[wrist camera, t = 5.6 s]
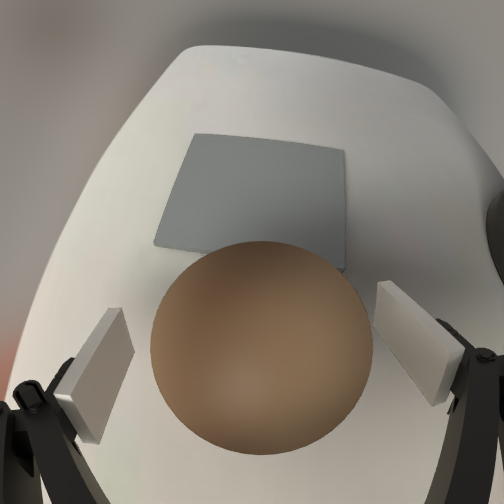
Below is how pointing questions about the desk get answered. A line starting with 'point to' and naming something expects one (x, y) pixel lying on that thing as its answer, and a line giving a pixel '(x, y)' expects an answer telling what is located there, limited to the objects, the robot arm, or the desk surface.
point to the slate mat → (257, 197)
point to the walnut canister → (261, 347)
